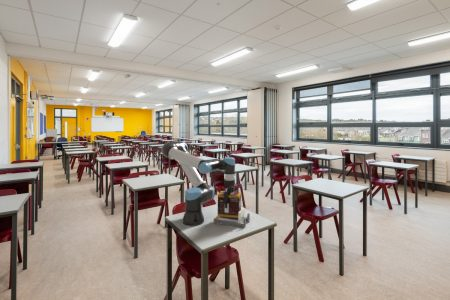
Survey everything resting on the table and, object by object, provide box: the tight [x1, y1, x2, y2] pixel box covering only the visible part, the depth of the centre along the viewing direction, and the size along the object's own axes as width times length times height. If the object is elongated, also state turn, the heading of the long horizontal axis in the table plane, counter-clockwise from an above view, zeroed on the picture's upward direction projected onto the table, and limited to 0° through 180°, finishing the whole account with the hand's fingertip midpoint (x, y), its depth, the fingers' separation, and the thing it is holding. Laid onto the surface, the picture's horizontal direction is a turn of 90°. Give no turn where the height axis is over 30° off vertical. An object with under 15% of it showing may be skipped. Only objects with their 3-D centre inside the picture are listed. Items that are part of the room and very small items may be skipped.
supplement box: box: [217, 190, 242, 218], centre depth 173 cm, size 10×15×16 cm
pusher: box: [238, 207, 247, 223], centre depth 170 cm, size 4×11×9 cm, turn 158°
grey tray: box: [212, 213, 251, 229], centre depth 173 cm, size 23×13×6 cm, turn 68°
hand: (229, 209), depth 173 cm, fingers closed on supplement box, 11 cm apart
